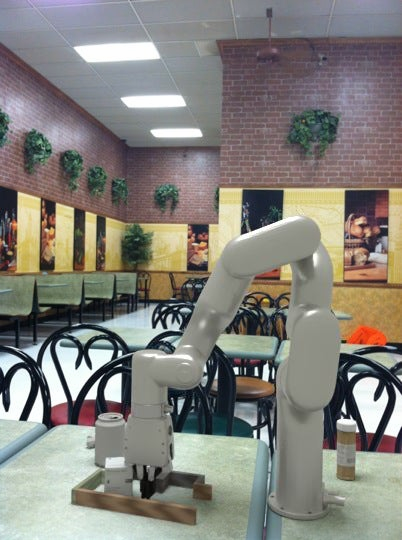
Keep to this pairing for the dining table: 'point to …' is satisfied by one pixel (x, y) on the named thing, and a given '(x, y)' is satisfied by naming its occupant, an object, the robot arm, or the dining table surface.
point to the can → (109, 437)
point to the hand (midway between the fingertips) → (147, 496)
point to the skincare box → (118, 477)
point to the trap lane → (144, 507)
